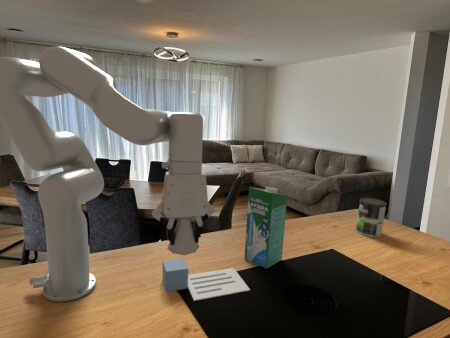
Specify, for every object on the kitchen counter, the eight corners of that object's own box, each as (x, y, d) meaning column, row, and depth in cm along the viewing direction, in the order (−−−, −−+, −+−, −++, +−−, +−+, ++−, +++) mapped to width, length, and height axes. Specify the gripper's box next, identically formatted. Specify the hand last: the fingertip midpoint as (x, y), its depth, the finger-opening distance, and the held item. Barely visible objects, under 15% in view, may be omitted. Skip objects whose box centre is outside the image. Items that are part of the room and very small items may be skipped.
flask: (204, 247, 73) (206, 208, 71) (184, 259, 67) (185, 216, 65) (182, 239, 77) (183, 202, 75) (161, 249, 71) (161, 209, 69)
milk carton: (281, 259, 101) (288, 188, 96) (266, 269, 94) (272, 192, 90) (260, 250, 107) (265, 182, 102) (244, 258, 100) (248, 186, 96)
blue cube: (165, 292, 80) (166, 271, 79) (162, 280, 86) (162, 260, 85) (187, 288, 82) (188, 268, 81) (183, 277, 88) (183, 258, 87)
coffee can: (364, 237, 123) (368, 204, 120) (351, 227, 133) (355, 197, 130) (387, 237, 124) (392, 205, 122) (372, 227, 134) (377, 197, 132)
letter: (193, 301, 77) (193, 299, 77) (183, 276, 88) (183, 275, 88) (250, 290, 82) (250, 289, 82) (233, 268, 93) (233, 267, 93)
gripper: (148, 171, 62) (148, 252, 65) (226, 169, 67) (222, 244, 71) (145, 164, 69) (145, 238, 72) (215, 163, 74) (213, 232, 78)
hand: (183, 240), depth 71 cm, fingers closed on flask, 5 cm apart
